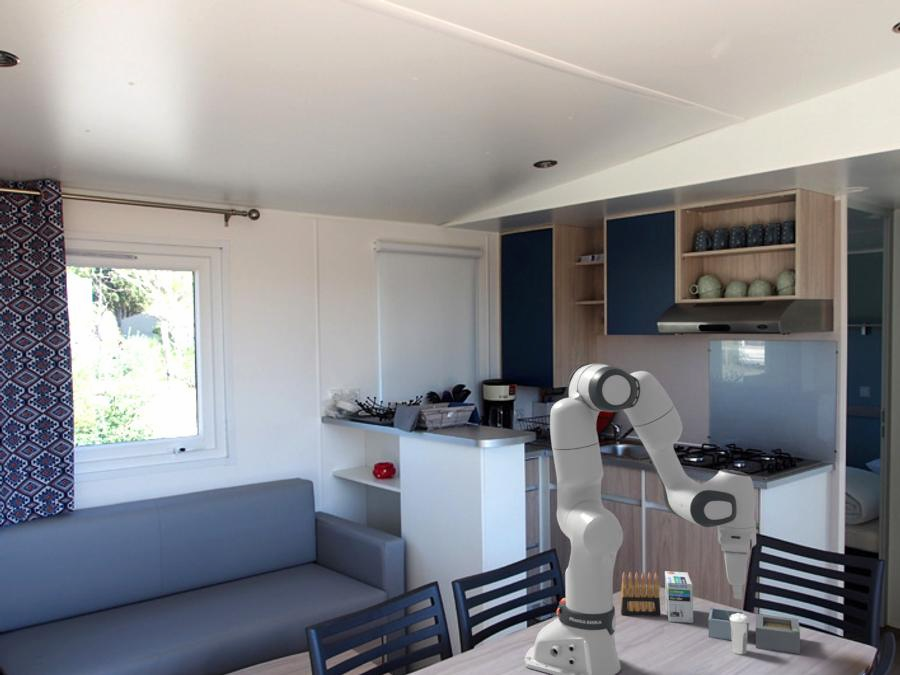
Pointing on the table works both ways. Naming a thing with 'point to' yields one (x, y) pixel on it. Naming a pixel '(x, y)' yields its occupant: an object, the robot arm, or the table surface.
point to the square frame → (777, 634)
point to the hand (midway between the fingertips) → (738, 591)
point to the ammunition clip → (640, 596)
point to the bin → (720, 623)
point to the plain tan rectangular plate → (776, 625)
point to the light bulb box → (679, 597)
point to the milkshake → (739, 632)
